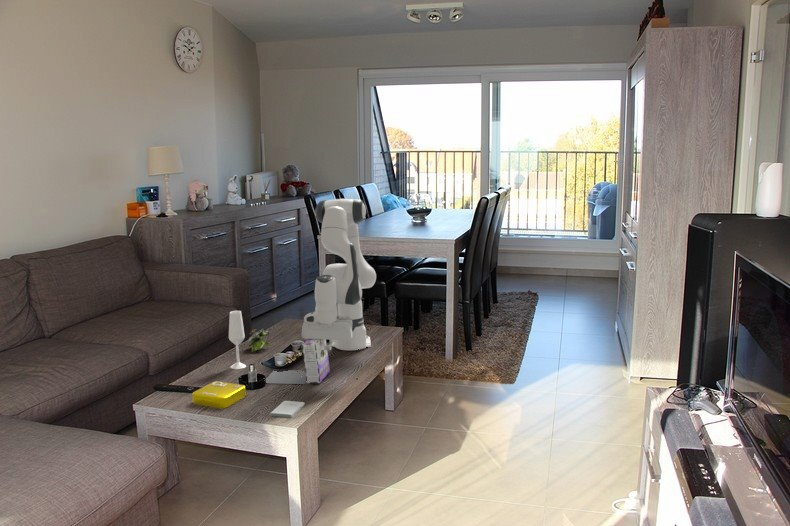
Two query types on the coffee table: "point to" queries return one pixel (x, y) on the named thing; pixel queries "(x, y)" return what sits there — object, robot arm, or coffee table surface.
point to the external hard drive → (287, 409)
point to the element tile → (219, 394)
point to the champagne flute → (236, 335)
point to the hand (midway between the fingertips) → (327, 349)
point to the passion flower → (258, 339)
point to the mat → (287, 377)
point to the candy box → (315, 360)
